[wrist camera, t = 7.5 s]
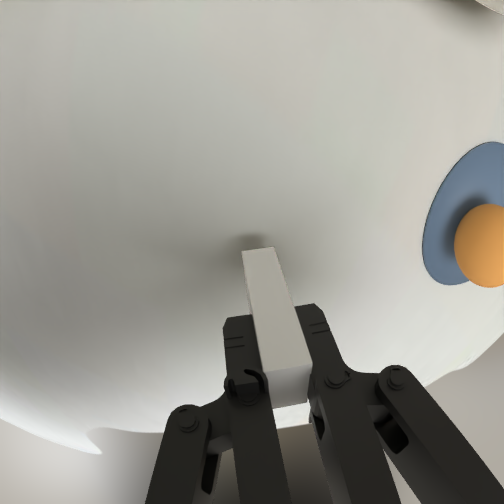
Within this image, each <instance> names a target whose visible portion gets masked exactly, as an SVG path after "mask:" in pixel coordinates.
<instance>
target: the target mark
mask: <svg viewBox="0 0 504 504" xmlns="http://www.w3.org/2000/svg"><path fill="white" fill-rule="evenodd" d="M483 204H496V205H499V206H502V207H504V144H502V143H498V142H489V143H484V144H482V145H479V146H477V147H475V148H474V149H472V150H471V151H469V152H468V153H467V154H466V155H464V156H463V157H462V158H461V159H460V160H459V161H458V163H457V164H456V165H455V166H454V167H453V169H452V170H451V171H450V172H449V174H448V175H447V177H446V179H445V180H444V182H443V183H442V185H441V187H440V189H439V191H438V192H437V194H436V197H435V199H434V201H433V204H432V206H431V209H430V212H429V214H428V218H427V221H426V225H425V230H424V236H423V259H424V264H425V266H426V269H427V271H428V272H429V274H430V275H431V277H432V278H433V279H434V280H436V281H437V282H439V283H441V284H444V285H457V284H462V283H464V282H467V281H469V279H468V278H467V277H466V276H465V275H464V274H463V273H462V271H461V269H460V268H459V265H458V263H457V260H456V257H455V251H454V240H455V234H456V230H457V227H458V225H459V223H460V221H461V220H462V218H463V217H464V216H465V215H466V214H467V213H468V212H469V211H470V210H471V209H473V208H475V207H477V206H479V205H483Z"/></svg>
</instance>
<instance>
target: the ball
mask: <svg viewBox="0 0 504 504" xmlns="http://www.w3.org/2000/svg"><path fill="white" fill-rule="evenodd" d="M454 251H455V257H456V260H457V263H458V265H459V268H460V269H461V271H462V273H463V274H464V275H465V276H466V277H467V278H468V279H469V280H470V281H472V282H473V283H475V284H476V285H479V286H482V287H487V288H493V287H498V286H501V285H503V284H504V207H502V206H499V205H496V204H483V205H479V206H477V207H475V208H473V209H471V210H470V211H469V212H468V213H467V214H466V215H465V216H464V217H463V218H462V220H461V221H460V223H459V225H458V227H457V230H456V234H455V240H454Z"/></svg>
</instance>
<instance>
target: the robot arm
mask: <svg viewBox="0 0 504 504" xmlns="http://www.w3.org/2000/svg"><path fill="white" fill-rule="evenodd" d="M242 259H243V267H244V275H245V283H246V291H247V298H248V304H249V310H250V315H243V316H236V317H229V318H227V320H226V322H225V324H224V327H223V336H224V347H225V359H226V370H227V376H226V378H225V380H224V389H225V392H224V393H223V395H222V396H221V397H220V398H218V399H217V400H215V401H213V402H211V403H209V404H206V405H204V406H201V407H199V406H195V405H192V404H191V405H182V406H180V407H177V408H176V409H175V410H174V411H172V412H171V414H170V416H169V418H168V421H167V424H166V428H165V431H164V435H163V439H162V442H161V445H160V449H159V453H158V456H157V460H156V464H155V467H154V471H153V475H152V478H151V482H150V486H149V490H148V494H147V498H146V501H145V504H213V500H214V495H215V489H216V484H217V478H218V472H219V467H220V461H221V456H222V452H224V451H226V450H229V449H231V448H233V451H234V460H235V467H236V475H237V483H238V490H239V497H240V504H292V502H291V497H290V492H289V488H288V483H287V478H286V473H285V469H284V464H283V459H282V454H281V449H280V444H279V439H278V435H277V429H276V424H275V420H274V415H273V410H272V409H274V408H280V407H286V406H291V405H296V404H301V403H306V402H307V399H309V403H310V406H311V409H310V414H309V423H312V424H313V428H314V431H315V435H316V439H317V443H318V446H319V450H320V454H321V458H322V461H323V465H324V469H325V473H326V477H327V481H328V485H329V488H330V492H331V496H332V500H333V504H401V501H400V498H399V495H398V492H397V489H396V486H395V483H394V481H393V477H392V474H391V471H390V468H389V465H388V463H387V460H386V457H385V454H384V451H385V452H386V454H387V455H388V456H389V458H390V459H391V461H392V462H393V464H394V465H395V466H396V468H397V469H398V471H399V472H400V474H401V475H402V477H403V478H404V479H405V481H406V482H407V484H408V485H409V487H410V488H411V489H412V491H413V492H414V494H415V495H416V497H417V498H418V499H419V501H420V502H421V504H504V489H503V487H502V486H501V485H500V483H499V482H498V480H497V479H496V478H495V477H494V475H493V474H492V472H491V471H490V470H489V468H488V467H487V466H486V465H485V463H484V462H483V461H482V459H481V458H480V457H479V455H478V454H477V453H476V451H475V450H474V449H473V447H472V446H471V445H470V444H469V443H468V441H467V440H466V439H465V437H464V436H463V435H462V433H461V432H460V431H459V430H458V428H457V427H456V426H455V425H454V424H453V422H452V421H451V420H450V419H449V417H448V416H447V415H446V414H445V412H444V411H443V410H442V409H441V407H439V405H438V404H437V403H436V401H435V400H434V399H433V398H432V397H431V396H430V394H429V393H428V392H427V391H426V390H425V388H424V387H423V386H422V385H421V383H420V382H419V381H418V380H417V379H416V378H415V376H414V375H413V374H412V373H411V372H410V371H409V370H408V369H407V368H405V367H403V366H400V365H391V366H388V367H386V368H384V369H383V370H382V371H381V373H362V372H357V371H354V370H352V369H351V368H349V367H348V366H347V365H346V364H345V363H344V361H343V359H342V357H341V354H340V352H339V349H338V347H337V344H336V342H335V340H334V337H333V335H332V332H331V331H330V327H329V325H328V323H327V320H326V318H325V315H324V313H323V311H322V310H321V309H320V308H319V307H318V306H316V305H315V304H314V303H313V304H307V305H302V306H296V307H294V305H293V302H292V299H291V296H290V293H289V290H288V287H287V284H286V281H285V278H284V275H283V272H282V269H281V267H280V264H279V261H278V258H277V255H276V252H275V249H274V247H267V248H260V249H253V250H246V251H242ZM383 449H384V451H383Z"/></svg>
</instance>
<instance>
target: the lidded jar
mask: <svg viewBox="0 0 504 504" xmlns="http://www.w3.org/2000/svg"><path fill="white" fill-rule="evenodd" d="M476 1H477V2H479V3H480V4H482V5H484V6H486V7H487V8H489V9H491V10H493V11H495V12H497V13H499V14H501V15H504V0H476Z"/></svg>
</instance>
